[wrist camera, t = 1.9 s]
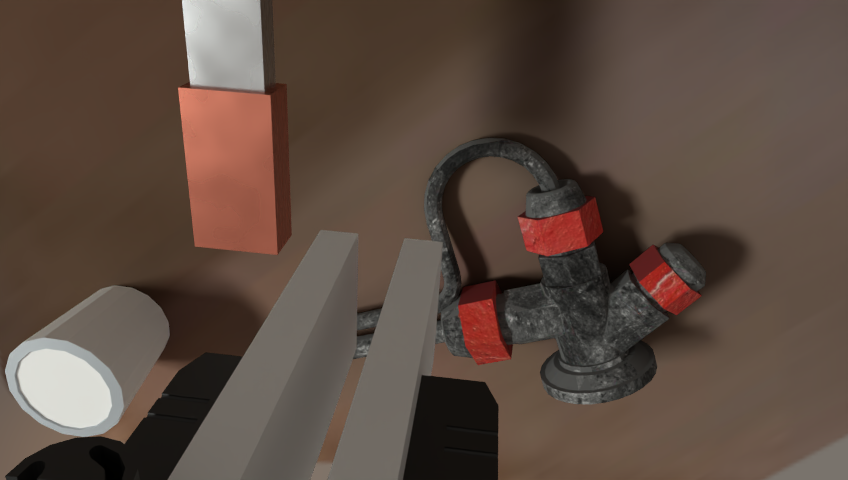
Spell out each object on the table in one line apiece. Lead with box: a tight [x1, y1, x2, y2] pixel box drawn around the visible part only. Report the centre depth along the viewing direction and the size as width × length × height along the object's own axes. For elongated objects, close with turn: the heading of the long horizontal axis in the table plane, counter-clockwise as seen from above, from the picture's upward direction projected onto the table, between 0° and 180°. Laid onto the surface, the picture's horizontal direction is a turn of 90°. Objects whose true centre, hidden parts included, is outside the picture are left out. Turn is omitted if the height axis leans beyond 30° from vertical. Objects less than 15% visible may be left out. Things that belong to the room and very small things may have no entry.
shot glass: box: [5, 285, 170, 437], centre depth 39 cm, size 7×7×7 cm
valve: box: [353, 138, 706, 404], centre depth 37 cm, size 6×26×15 cm
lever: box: [178, 0, 292, 255], centre depth 22 cm, size 16×4×2 cm, turn 177°
